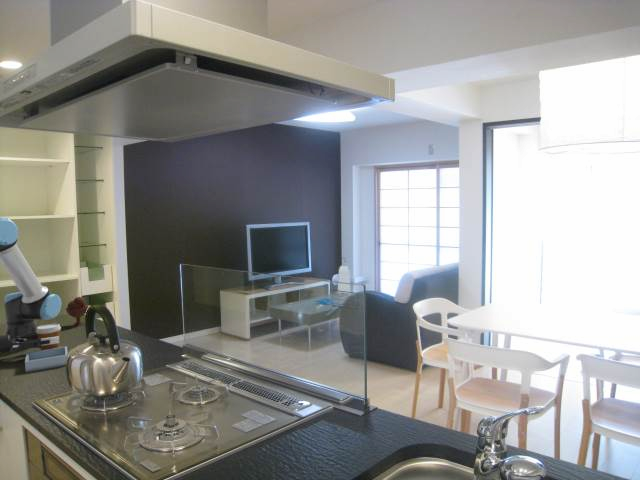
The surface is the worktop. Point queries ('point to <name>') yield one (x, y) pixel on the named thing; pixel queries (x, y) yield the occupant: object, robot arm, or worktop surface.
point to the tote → (45, 359)
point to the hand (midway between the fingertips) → (58, 336)
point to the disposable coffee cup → (49, 334)
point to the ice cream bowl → (77, 309)
